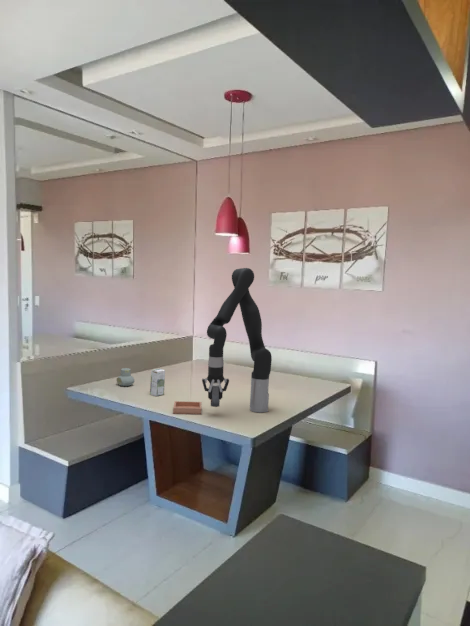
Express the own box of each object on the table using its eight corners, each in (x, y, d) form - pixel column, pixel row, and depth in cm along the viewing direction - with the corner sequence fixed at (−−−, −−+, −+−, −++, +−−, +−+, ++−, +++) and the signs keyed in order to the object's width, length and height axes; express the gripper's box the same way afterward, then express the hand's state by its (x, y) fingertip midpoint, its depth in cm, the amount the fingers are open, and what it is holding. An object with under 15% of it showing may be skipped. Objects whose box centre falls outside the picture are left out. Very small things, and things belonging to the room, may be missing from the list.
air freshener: (114, 384, 285) (115, 368, 284) (127, 382, 291) (127, 366, 290) (123, 388, 277) (123, 371, 276) (135, 386, 283) (136, 370, 282)
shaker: (219, 404, 235) (219, 380, 234) (219, 406, 231) (220, 383, 230) (210, 404, 235) (210, 380, 234) (210, 406, 230) (211, 383, 229)
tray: (201, 407, 245) (201, 401, 245) (201, 414, 233) (201, 408, 233) (174, 406, 244) (174, 401, 243) (173, 413, 232) (173, 407, 232)
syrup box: (157, 392, 270) (158, 368, 269) (164, 394, 266) (165, 369, 265) (149, 394, 265) (150, 369, 264) (156, 396, 262) (157, 371, 260)
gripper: (229, 363, 235) (228, 397, 237) (201, 363, 234) (200, 397, 235) (230, 367, 228) (230, 401, 229) (201, 366, 226) (200, 401, 228)
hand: (215, 399), depth 232 cm, fingers closed on shaker, 4 cm apart
